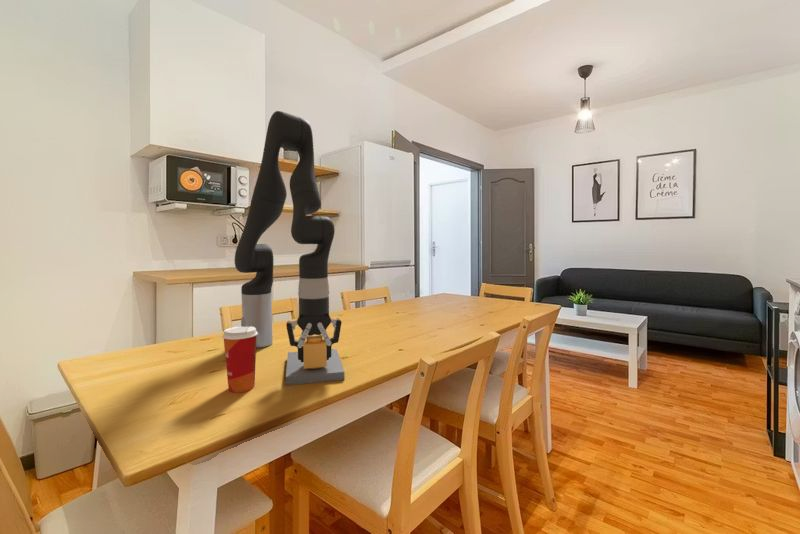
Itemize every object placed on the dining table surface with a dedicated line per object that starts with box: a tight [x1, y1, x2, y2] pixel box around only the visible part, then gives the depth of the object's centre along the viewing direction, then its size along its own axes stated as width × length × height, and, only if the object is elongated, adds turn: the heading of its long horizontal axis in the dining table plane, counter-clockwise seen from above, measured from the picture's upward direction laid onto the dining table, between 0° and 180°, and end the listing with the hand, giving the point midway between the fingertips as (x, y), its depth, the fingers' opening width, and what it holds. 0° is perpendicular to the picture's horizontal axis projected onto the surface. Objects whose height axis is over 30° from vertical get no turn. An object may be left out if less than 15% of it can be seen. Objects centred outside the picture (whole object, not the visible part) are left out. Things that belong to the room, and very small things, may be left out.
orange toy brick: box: [303, 334, 327, 369], centre depth 95 cm, size 6×6×7 cm
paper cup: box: [221, 325, 258, 394], centre depth 86 cm, size 8×8×14 cm
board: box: [285, 348, 346, 386], centre depth 100 cm, size 14×20×6 cm
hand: (314, 359), depth 95 cm, fingers closed on orange toy brick, 5 cm apart
